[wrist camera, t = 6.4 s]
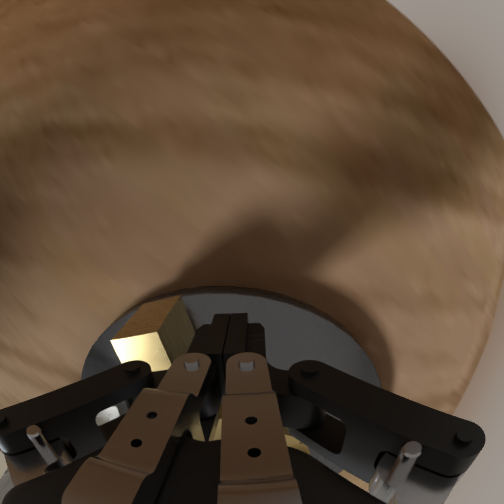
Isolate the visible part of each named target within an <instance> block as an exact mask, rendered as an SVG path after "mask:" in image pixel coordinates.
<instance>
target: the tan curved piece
mask: <svg viewBox="0 0 504 504" xmlns="http://www.w3.org/2000/svg"><path fill="white" fill-rule="evenodd" d="M194 335H195V331H194V329H193V326H192V323H191V321H190V318H189V315H188V313H187V310H186V307H185V305H184V302H183V299H182V296H181V295H177V296H173V297H169V298H165V299H161V300H157V301H153V302H149V303H145V304H143V305H142V306H141V307H140V308H139V309H138V310H137V311H136V313H135V314H134V315H133V316H132V317H131V318H130V319H129V320H128V321H127V323H126V324H125V325H124V326H123V327H122V328H121V329H120V330H119V332H118V333H117V334H116V335H115V336H114V337H113V338H112V339H111V343H112V345H113V347H114V349H115V351H116V353H117V355H118V357H119V359H120V361H121V363H124V362H127V361H132V360H141V361H145V362H147V363H148V364H149V365H150V366H151V370H152V372H153V371H161V370H167V369H169V368H170V366H171V364H172V363H173V361H174V360H175V359H176V358H177V357H179V356H181V355H184V354H187V351H188V349H189V347H190V344H191V342H192V339H193V337H194ZM219 414H220V418H219V422H218V425H217V429H216V433H215V436H214V440H221V425H222V403H220V408H219ZM283 430H284V434H285V439H286V443H287V446H288V447H292V448H295V449H298V450H301V451H303V452H305V453H307V454H309V455H311V453H310V449H309V447H307V446H306V445H304V444H303V443H302V442H300V441H299V440H297V439H296V438H294V437H293V436H292V435H290V433H289V432H288V430H287V427H283ZM214 440H213V441H214Z"/></svg>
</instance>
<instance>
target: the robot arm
mask: <svg viewBox="0 0 504 504" xmlns="http://www.w3.org/2000/svg"><path fill="white" fill-rule="evenodd" d="M123 401H125V404H126V406H127V409H128V412H127V413H125V414H123V415H121V416H119V417H117V418H115V419H113V420H111V421H109V422H107V423H105V424H102V425H97V423H96V416H97V414H98V413H100V412H101V411H103V410H105V409H108V408H110V407H112V406H114V405H116V404H118V403H120V402H123ZM220 403H222V425H221V440H214V436H215V433H216V429H217V425H218V422H219V418H220V414H219V408H220ZM326 412H328V413H330V414H331V415H333V416H335V417H337V418H339V419H340V420H341V421H342V422H341V421H339V420H337V419H336V418H334V417H332V416H330V415H328V414H327V413H326ZM283 427H287V430H288V432H289V433H290V435H292V436H293V437H294V438H296V439H297V440H299V441H300V442H302V443H303V444H304V445H306V446H307V447H309V448H310V449H312V450H313V451H315V452H317V453H318V454H320V455H321V456H323V457H324V458H326V459H327V460H329V461H331V462H332V463H334V464H336V465H337V466H339V467H341V468H342V469H344V470H346V471H347V472H349V473H351V474H352V475H354V476H356V477H358V478H360V479H361V480H363V481H365V482H367V483H369V493H370V494H369V493H368V492H366V491H364V490H363V489H361V488H359V487H358V486H356V485H355V484H353V483H351V482H350V481H348V480H347V479H345V478H344V477H342V476H340V475H339V474H337V473H336V472H334V471H333V470H331V469H330V468H328V467H327V466H326V465H324V464H323V463H321V462H320V461H318V460H317V459H316V458H314V457H313V456H311V455H309V454H307V453H305V452H303V451H301V450H298V449H295V448H292V447H288V446H287V443H286V439H285V434H284V430H283ZM213 440H214V441H213ZM484 444H485V434H484V431H483V430H482V428H481V427H480V426H478V425H477V424H475V423H473V422H470V421H468V420H464V419H461V418H458V417H455V416H453V415H450V414H447V413H444V412H441V411H438V410H435V409H433V408H430V407H427V406H425V405H422V404H419V403H417V402H414V401H411V400H409V399H406V398H404V397H401V396H399V395H396V394H394V393H391V392H389V391H386V390H384V389H382V388H379V387H377V386H374V385H372V384H370V383H367V382H365V381H363V380H361V379H358V378H356V377H354V376H352V375H349V374H347V373H345V372H343V371H340V370H338V369H336V368H334V367H332V366H330V365H327V364H325V363H323V362H320V361H316V360H303V361H299V362H297V363H295V364H293V365H292V366H291V367H290V368H289V370H282V369H278V368H275V367H273V366H271V365H270V364H269V363H268V362H267V360H266V346H265V328H264V327H263V326H262V325H261V324H260V323H248V313H228V314H214V317H213V320H212V323H211V324H203V325H202V326H201V327H199V328H198V329H197V330H196V332H195V335H194V337H193V339H192V342H191V344H190V347H189V349H188V351H187V354H184V355H181V356H179V357H177V358H176V359H175V360H174V361H173V363H172V364H171V366H170V368H169V369H167V370H161V371H153V372H152V370H151V366H150V365H149V364H148V363H147V362H145V361H141V360H132V361H127V362H124V363H122V364H120V365H117V366H115V367H112V368H110V369H108V370H105V371H103V372H100V373H98V374H95V375H93V376H91V377H88V378H86V379H83V380H81V381H78V382H75V383H73V384H70V385H68V386H65V387H63V388H60V389H57V390H55V391H52V392H49V393H47V394H44V395H41V396H38V397H36V398H33V399H30V400H27V401H24V402H21V403H19V404H16V405H13V406H10V407H7V408H4V409H1V410H0V450H1V452H2V453H3V454H4V456H5V459H6V463H7V466H8V470H9V473H10V476H11V479H12V482H13V485H14V487H13V488H12V489H11V490H9V491H8V492H7V494H6V495H5V497H4V498H3V501H2V504H444V502H445V500H446V499H447V497H448V496H449V494H450V492H451V490H452V488H453V487H454V486H455V485H456V483H457V482H458V481H459V480H460V478H461V477H462V476H463V474H464V473H465V472H466V471H467V469H468V468H469V467H470V465H471V464H472V462H473V461H474V460H475V458H476V457H477V456H478V454H479V453H480V451H481V450H482V448H483V447H484Z"/></svg>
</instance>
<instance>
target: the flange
mask: <svg viewBox="0 0 504 504" xmlns="http://www.w3.org/2000/svg"><path fill="white" fill-rule="evenodd" d="M177 295H181V296H182V299H183V302H184V305H185V307H186V310H187V313H188V315H189V318H190V321H191V323H192V326H193V329H194V331H195V332H196V330H197V329H198V328H199V327H201V326H202V325H203V324H211V323H212V320H213V317H214V314H228V313H248V323H260V324H261V325H262V326H263V327H264V328H265V346H266V360H267V362H268V363H269V364H270V365H271V366H273V367H275V368H278V369H282V370H289V368H290V367H291V366H292V365H293V364H295V363H297V362H299V361H303V360H316V361H320V362H323V363H325V364H327V365H330V366H332V367H334V368H336V369H338V370H340V371H343V372H345V373H347V374H349V375H352V376H354V377H356V378H358V379H361V380H363V381H365V382H367V383H370V384H372V385H374V386H377V387H379V388H381V385H380V381H379V377H378V375H377V372H376V370H375V368H374V365H373V363H372V362H371V361H370V359H369V358H368V356H367V355H366V353H365V352H364V350H363V349H362V348H361V346H360V345H359V343H358V342H357V341H356V339H355V338H354V337H353V336H352V335H351V334H350V333H349V332H348V331H347V330H346V329H345V328H344V327H343V326H342V325H341V324H339V323H338V322H336V321H335V320H334V319H332V318H331V317H330V316H328V315H327V314H325V313H323V312H322V311H320V310H318V309H316V308H314V307H312V306H310V305H308V304H306V303H304V302H301V301H298V300H296V299H293V298H290V297H288V296H285V295H281V294H277V293H273V292H269V291H264V290H260V289H253V288H244V287H236V286H206V287H197V288H189V289H182V290H178V291H174V292H170V293H166V294H162V295H159V296H157V297H154V298H152V299H149V300H147V301H144V302H142V303H140V304H138V305H137V306H135V307H133V308H132V309H130V310H128V311H127V312H125V313H124V314H123V315H122V316H120V317H119V318H118V319H117V320H116V321H115V322H113V323H112V324H111V325H110V326H109V327H108V328H107V329H106V330H105V331H104V332H103V333H102V334H101V336H100V337H99V338H98V340H97V341H96V342H95V343H94V345H93V346H92V348H91V350H90V352H89V354H88V356H87V358H86V360H85V363H84V367H83V371H82V379H81V380H83V379H86V378H88V377H91V376H93V375H95V374H98V373H100V372H103V371H105V370H108V369H110V368H112V367H115V366H117V365H120V364H122V363H121V361H120V359H119V357H118V355H117V353H116V351H115V349H114V347H113V345H112V343H111V339H112V338H113V337H114V336H115V335H116V334H117V333H118V332H119V330H120V329H121V328H122V327H123V326H124V325H125V324H126V323H127V321H128V320H129V319H130V318H131V317H132V316H133V315H134V314H135V313H136V311H137V310H138V309H139V308H140V307H141V306H142V305H143V304H145V303H149V302H153V301H157V300H161V299H165V298H169V297H173V296H177ZM127 412H128V409H127V406H126V404H125V401H123V402H120V403H118V404H116V405H114V406H112V407H110V408H108V409H105V410H103V411H101V412H100V413H98V414H97V416H96V423H97V425H102V424H105V423H107V422H109V421H111V420H113V419H115V418H117V417H119V416H121V415H123V414H125V413H127ZM326 413H327V414H328V415H330V416H332V417H334V418H336V419H337V420H339V421H341V420H340V419H339V418H337V417H335V416H333V415H331V414H330V413H328V412H326ZM341 422H342V421H341ZM309 449H310V448H309ZM310 453H311V456H313V457H314V458H316V459H317V460H318V461H320V462H321V463H323V464H324V465H326V466H327V467H328V468H330V469H331V470H333V471H334V472H336V473H337V474H338V473H339V472H341V471H342V470H343V469H342V468H341V467H339V466H337V465H336V464H334V463H332V462H331V461H329V460H327V459H326V458H324V457H323V456H321V455H320V454H318V453H317V452H315V451H313V450H312V449H310Z"/></svg>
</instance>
